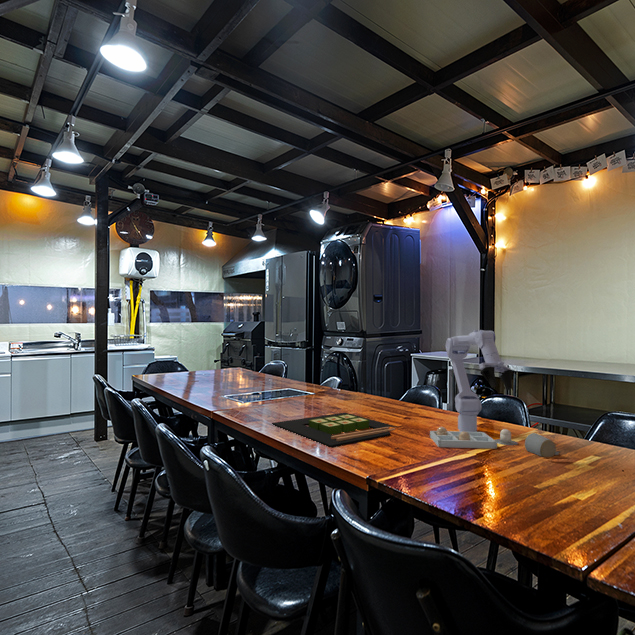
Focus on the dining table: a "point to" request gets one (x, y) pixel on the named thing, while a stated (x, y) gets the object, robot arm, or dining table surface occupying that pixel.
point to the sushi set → (336, 428)
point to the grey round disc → (506, 443)
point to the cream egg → (505, 436)
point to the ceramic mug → (540, 445)
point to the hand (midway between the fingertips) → (502, 387)
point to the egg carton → (453, 440)
